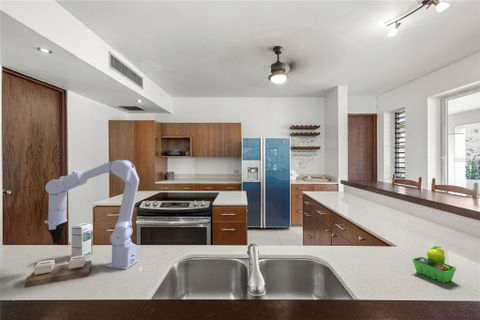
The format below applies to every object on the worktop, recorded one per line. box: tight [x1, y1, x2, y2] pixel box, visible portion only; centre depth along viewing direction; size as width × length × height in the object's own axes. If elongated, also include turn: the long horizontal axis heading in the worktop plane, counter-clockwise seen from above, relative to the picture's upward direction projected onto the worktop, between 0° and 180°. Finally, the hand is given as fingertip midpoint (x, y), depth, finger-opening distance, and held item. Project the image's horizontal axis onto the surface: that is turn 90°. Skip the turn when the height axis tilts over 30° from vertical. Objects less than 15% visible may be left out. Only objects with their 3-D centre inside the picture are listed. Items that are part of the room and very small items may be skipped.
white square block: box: [68, 255, 87, 269], centre depth 87 cm, size 5×5×3 cm
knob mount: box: [24, 260, 93, 288], centre depth 85 cm, size 18×10×4 cm, turn 117°
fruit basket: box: [411, 245, 457, 284], centre depth 86 cm, size 11×9×11 cm
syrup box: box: [71, 222, 94, 258], centre depth 102 cm, size 6×6×14 cm
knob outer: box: [33, 259, 56, 275], centre depth 82 cm, size 5×5×3 cm
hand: (57, 242), depth 90 cm, fingers closed
